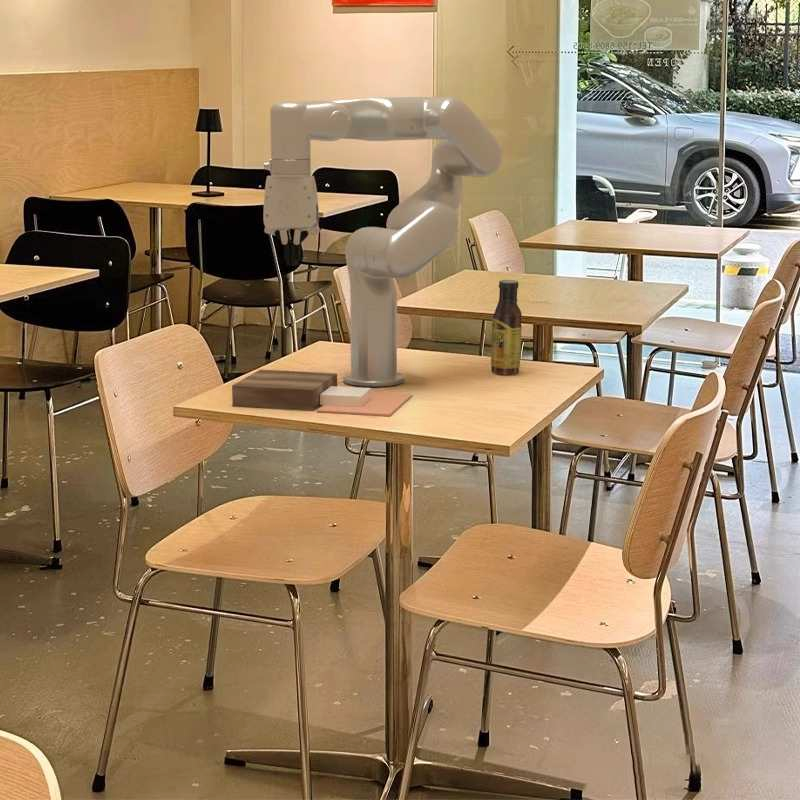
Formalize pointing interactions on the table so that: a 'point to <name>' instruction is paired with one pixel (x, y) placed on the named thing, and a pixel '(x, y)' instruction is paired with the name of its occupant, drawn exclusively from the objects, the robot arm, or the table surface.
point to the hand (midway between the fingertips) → (292, 264)
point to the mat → (372, 405)
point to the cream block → (345, 396)
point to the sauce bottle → (506, 331)
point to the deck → (282, 389)
